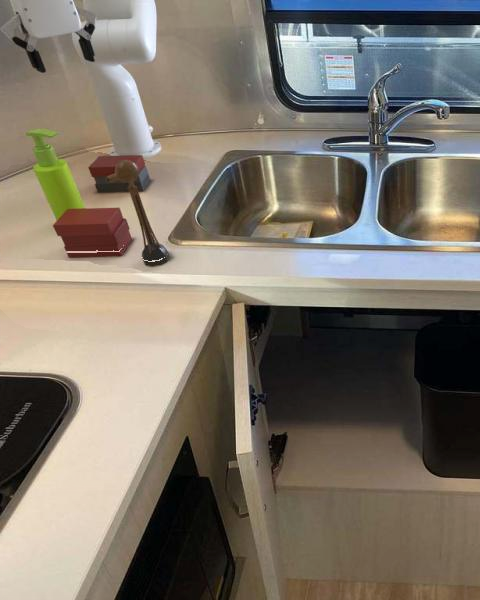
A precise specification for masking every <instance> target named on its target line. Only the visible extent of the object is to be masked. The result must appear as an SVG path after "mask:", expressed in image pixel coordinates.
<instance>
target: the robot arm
mask: <svg viewBox="0 0 480 600" xmlns="http://www.w3.org/2000/svg"><path fill="white" fill-rule="evenodd" d="M9 2H10V6H11V9H12V12H13V14H14V15H13V16H12V17H11V18H10V19H8V20H7V21H6V22H5V23H4V24H3V25H2V26H1V27H0V31H1V32H2V34H3V35H4V36H5V37H6V38H7V39H9V40H10V42H11V43H13V44H15V45H17V46H18V47H20V48H22V49H23V50H25V52H26V54H27V57H28V60H29V61H30V64H31V66H32V68H33V69H35V71H37V72H39V73H42V74H44V73H46V72H47V70H46V67H45V65H44V62H43V59H42V57H41V54H40V51H39V50H37V49H36V46H37V43H38V40H39V39H45V38H51V37H52V38H53V37H57V36H62V35H63V36H64V35H68V34H71V40H72V44H73V46H74V48H75V51H76V53H77V55H78V57H79V58H80V60H81V62H82V64H83V66H84V68H85V70H86V72H87V74H88V76H89V80H90V82H91V84H92V88H93V90H94V93H95V97H96V99H97V102H98V105H99V108H100V111H101V113H102V116H103V119H104V122H105V125H106V128H107V130H108V133H109V137H110V139H111V142H112V145H113V146H112V147H111V149H110V150H109V153H108V154H109V156H122V155H142V156H143V159H144V160H147V159H150V158H152V157H154V156H156V155H158V154H159V153H160V152H161V150H162V145H161V143H160V142H159V141H157V140H155V139H153V136H152V132H153V131H154V128H153V126H152V125H150V124H149V123H148V119H147V117H146V113H145V110H144V106H143V102H142V99H141V97H140V93H139V90H138V86H137V83H136V81H135V78H134V77H133V76H132V74H131V73H130V72H129V71H128V70H127V69H126V68H125V67H124V66H123V65H137V64H138V65H139V64H148V63H151V62H152V61H153V60H154V59H155V57H156V54H157V30H158V29H157V28H158V27H157V26H158V25H157V24H158V22H157V21H158V18H157V17H158V16H157V14H158V13H157V6H156V2H155V0H82V8H81V7H78V6H76V4H75V2H74V0H9ZM80 16H81V17H84V18H85V20H84V21H81V18H80ZM17 28H19V31H20V32H21V34H23V35H24V36H23V39H22V38H20V37H18V36H17V34H16V33H15V32H14V30H16V29H17Z"/></svg>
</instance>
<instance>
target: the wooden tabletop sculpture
mask: <svg viewBox="0 0 480 600" xmlns="http://www.w3.org/2000/svg"><path fill="white" fill-rule="evenodd" d="M138 175H139V170H138V168H137V165H136V164H135V163H134V162H132V161H129V160H123V161H121V162H119V163H118V164H117V165H116V168H115V174H112V175H109V176H107V177H106V178H107V180H108V182H113V181H115V180H119V181H121V182H123V183H128V184H129V187H128V188H127V189H128V190H129V192H128V193H129V195H130V198H131V201H132V203H133V204H132V205H133V206H134V210H135V213H136V216H137V218H138V223H139V226H140V230H141V235H142V240H143V247H144V248H143V249H142V252H141V258H142V257H143V258H142V262H143V263H144V265H145V267H151V268H152V267H158V266H162V265H164V264H166V263H168V262H169V261H170V258H171V255H170V253H169V251H168V250H167V248H166V247H165V245H163V244H161V243H160V242H159V241H158V239H157V237H156V235H155V233H154V231H153V228H152V226H151V224H150V221H149V218H148V216H147V213H146V211H145V208H144V204H143V201H142V199H141V197H140V191H138V189H137V186H135V185H134V184H133V181H135V180H136V179H137V177H138ZM167 254H168V255H167ZM164 257H165V258H164ZM161 258H163V259H162V260H160V261H155V262H148V261H152V260H159V259H161ZM143 259H144V260H148V261H144V260H143Z"/></svg>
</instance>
